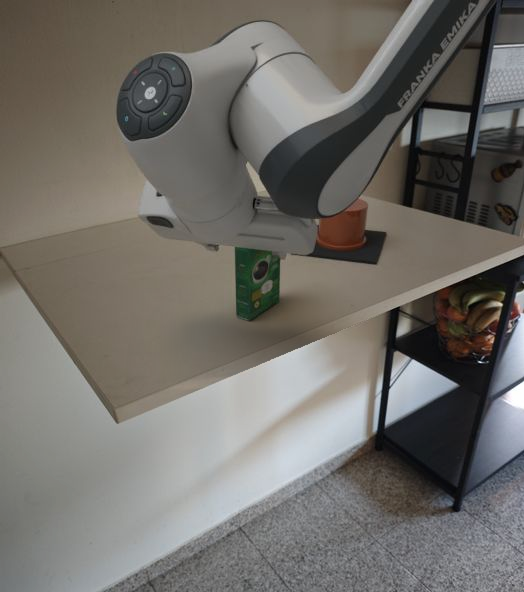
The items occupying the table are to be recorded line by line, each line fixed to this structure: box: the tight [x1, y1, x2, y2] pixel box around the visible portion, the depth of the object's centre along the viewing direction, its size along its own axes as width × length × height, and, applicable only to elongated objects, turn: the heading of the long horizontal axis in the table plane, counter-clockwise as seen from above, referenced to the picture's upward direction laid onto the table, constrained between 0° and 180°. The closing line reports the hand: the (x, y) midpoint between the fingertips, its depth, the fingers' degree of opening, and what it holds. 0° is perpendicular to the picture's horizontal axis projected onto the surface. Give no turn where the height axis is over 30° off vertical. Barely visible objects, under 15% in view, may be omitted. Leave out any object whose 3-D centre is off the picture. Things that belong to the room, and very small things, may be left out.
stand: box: [316, 198, 369, 251], centre depth 96 cm, size 10×10×8 cm
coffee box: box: [234, 247, 281, 321], centre depth 73 cm, size 8×3×13 cm, turn 144°
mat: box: [293, 224, 387, 265], centre depth 98 cm, size 16×16×1 cm
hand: (247, 250), depth 66 cm, fingers open, 8 cm apart
